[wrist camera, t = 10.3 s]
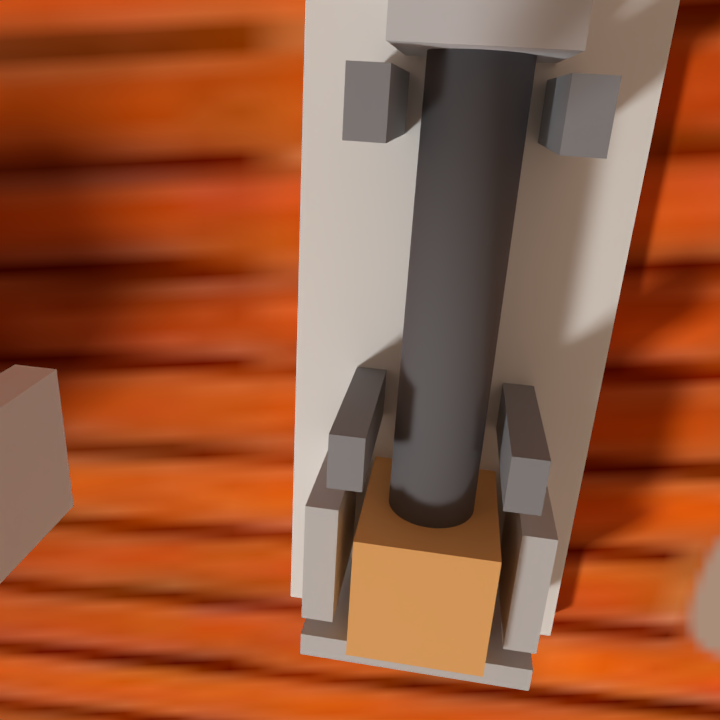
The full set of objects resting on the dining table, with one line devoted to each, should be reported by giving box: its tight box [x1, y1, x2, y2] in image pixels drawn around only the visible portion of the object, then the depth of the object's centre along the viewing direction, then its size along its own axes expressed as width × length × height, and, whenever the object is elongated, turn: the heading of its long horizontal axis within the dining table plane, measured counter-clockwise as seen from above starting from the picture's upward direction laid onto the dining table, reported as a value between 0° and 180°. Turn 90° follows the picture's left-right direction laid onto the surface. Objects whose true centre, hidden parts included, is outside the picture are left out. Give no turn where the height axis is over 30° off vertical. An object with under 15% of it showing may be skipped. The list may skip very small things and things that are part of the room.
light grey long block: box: [291, 0, 680, 691], centre depth 24 cm, size 28×12×7 cm, turn 177°
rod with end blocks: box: [346, 0, 593, 677], centre depth 23 cm, size 24×5×6 cm, turn 177°
